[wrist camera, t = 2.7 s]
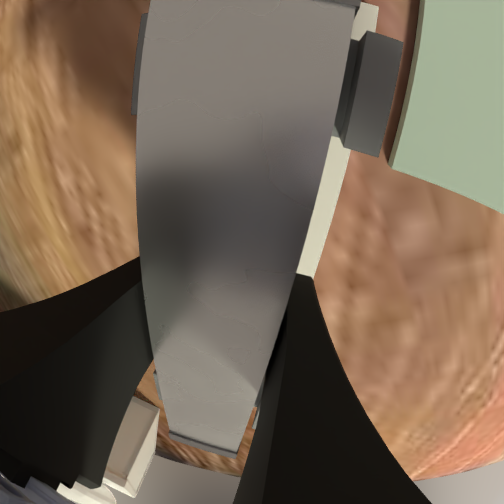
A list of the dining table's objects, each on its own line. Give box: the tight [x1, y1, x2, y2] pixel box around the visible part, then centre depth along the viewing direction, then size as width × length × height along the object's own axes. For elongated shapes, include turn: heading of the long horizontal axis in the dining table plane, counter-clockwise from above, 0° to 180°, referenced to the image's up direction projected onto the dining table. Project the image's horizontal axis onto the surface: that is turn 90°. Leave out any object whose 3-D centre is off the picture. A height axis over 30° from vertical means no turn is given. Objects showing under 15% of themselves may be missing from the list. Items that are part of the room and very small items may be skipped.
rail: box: [136, 0, 361, 459], centre depth 8 cm, size 3×16×3 cm, turn 172°
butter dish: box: [57, 396, 160, 504], centre depth 21 cm, size 18×18×16 cm
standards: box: [131, 2, 403, 429], centre depth 10 cm, size 5×18×4 cm, turn 172°
